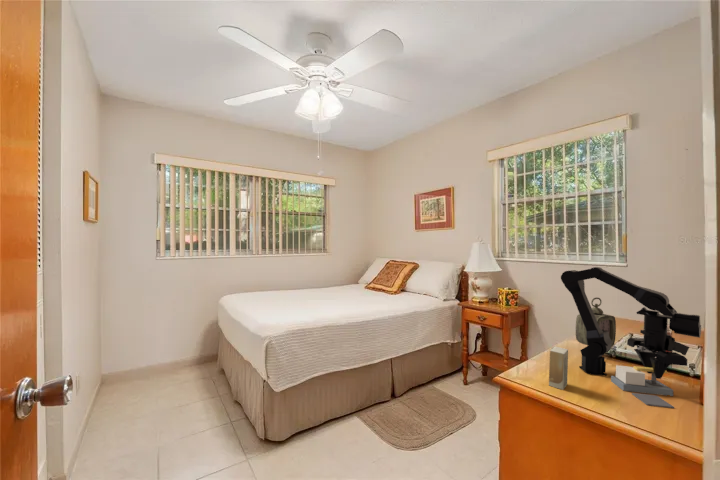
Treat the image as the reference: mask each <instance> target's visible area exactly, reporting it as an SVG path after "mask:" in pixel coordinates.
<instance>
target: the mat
mask: <svg viewBox="0 0 720 480" xmlns="http://www.w3.org/2000/svg"><path fill="white" fill-rule="evenodd" d="M631 395H632V396H634V397H636V399H638V400H639V401H641V402H642V403H643V404H644V405H646V406H651V407H652V406H653V407H659V408H668V409H675V406H674V405H673V404H670V403H669V402H667V401H666V400H665V399H663V398H662V397H660V396H659V395H657V394H648V393H639V392H631Z"/></svg>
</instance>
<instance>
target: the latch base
mask: <svg viewBox="0 0 720 480" xmlns="http://www.w3.org/2000/svg"><path fill="white" fill-rule="evenodd" d="M610 382H612V384H613V385H615V386H617V387H618V388H619V389H621V390H622V391H624V392H631V393H639V394H648V395H657V396H667V395H670V396H669V397H674V389H673V388H671V387H669V386H668V385H666V384H664V383H663V382H660V381H659V380H657V379H656V384H653V383H651V379H646V378H645V386H642V385H633V384H625V383H624V382H623V381H621V380H620V379H618V378H617V377H616V375H611V376H610Z"/></svg>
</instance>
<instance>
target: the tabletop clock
mask: <svg viewBox="0 0 720 480" xmlns="http://www.w3.org/2000/svg"><path fill="white" fill-rule="evenodd" d="M595 300H599V301H600V303H599V304H598V303H594V301H595ZM590 305H591V308H592V311H593V313H594V315H595V318H596V320H597V323H598V325H599V327H600V329H601V330H602V331H603V332H608V333H609V337H610V339H611V341H612V342H613V343H611V345H612V347H614V345H615V343H616V333H617V323H616V322H617V321H616V317H615V316H614V315H610V314H607V313H606V314H605V313H604V311H603V310H602V308H599V307H600V306H601V305H602V299H601V298H600V297H593V299H592V300H591V302H590ZM575 339H576V340H577V342H579V344H582V345H585V346H588V344H587V339H586V328H585V326H584V323H583V321H582V318H581V316H580V313H578V314H577V315H576V320H575Z"/></svg>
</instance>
